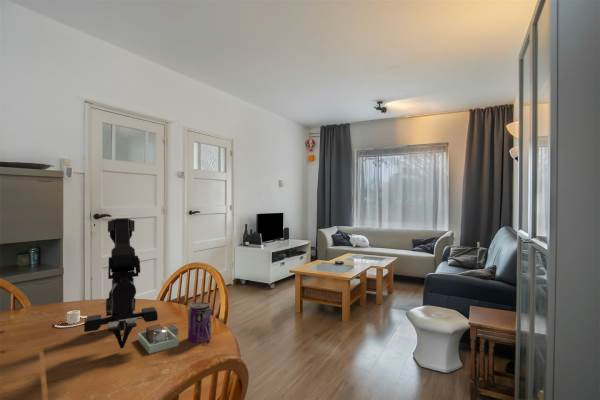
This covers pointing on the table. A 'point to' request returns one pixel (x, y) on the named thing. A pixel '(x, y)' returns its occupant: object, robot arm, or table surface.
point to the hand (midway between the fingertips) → (121, 347)
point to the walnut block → (151, 331)
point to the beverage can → (199, 322)
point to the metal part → (159, 335)
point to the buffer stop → (173, 329)
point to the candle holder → (73, 318)
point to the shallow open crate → (153, 348)
